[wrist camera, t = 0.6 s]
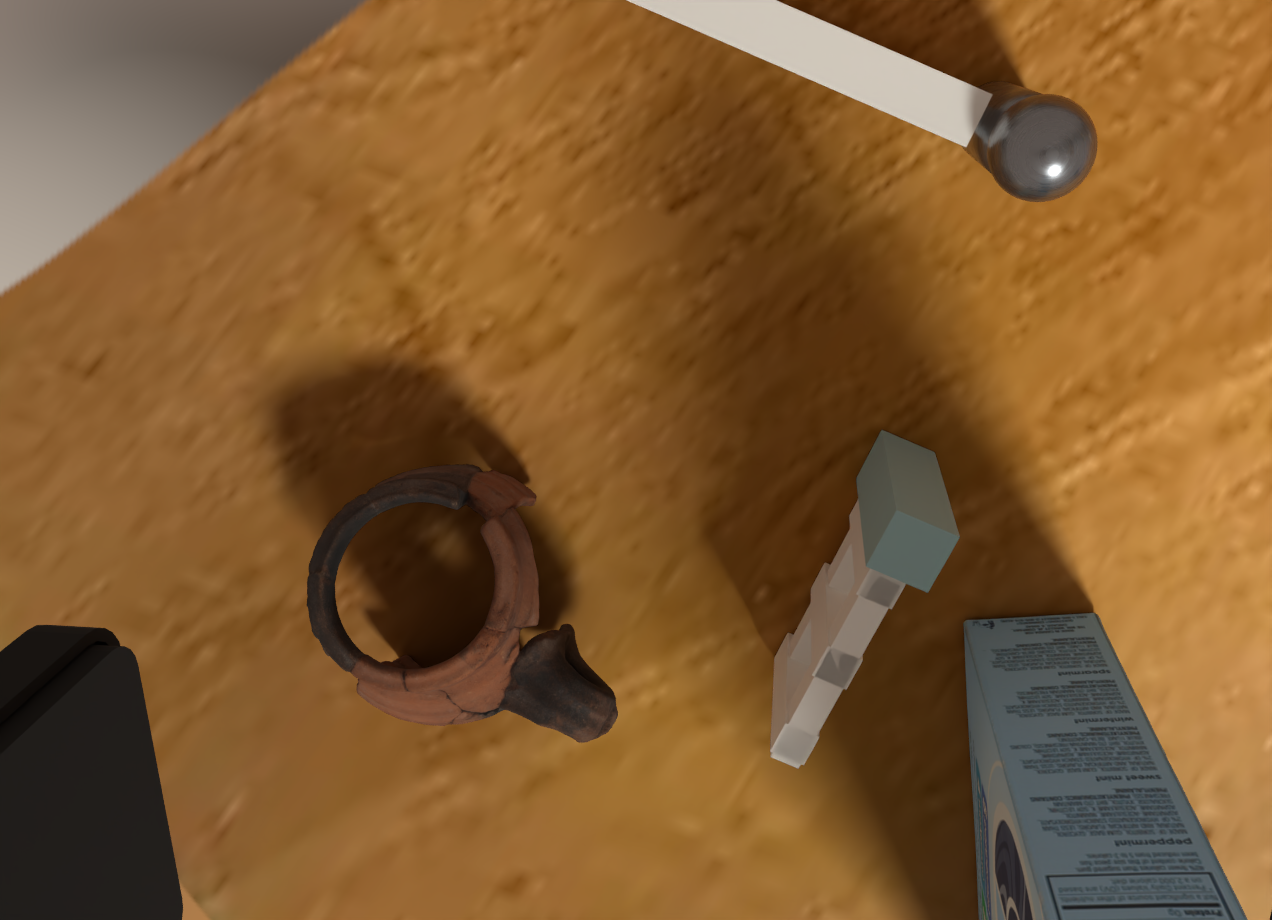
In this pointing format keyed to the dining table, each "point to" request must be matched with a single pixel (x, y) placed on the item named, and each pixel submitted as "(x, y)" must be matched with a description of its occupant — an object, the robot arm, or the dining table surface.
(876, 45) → the gate
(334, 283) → the dining table surface
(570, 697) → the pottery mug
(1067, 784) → the gum box
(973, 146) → the hinge post
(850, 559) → the fence panel
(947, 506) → the block
